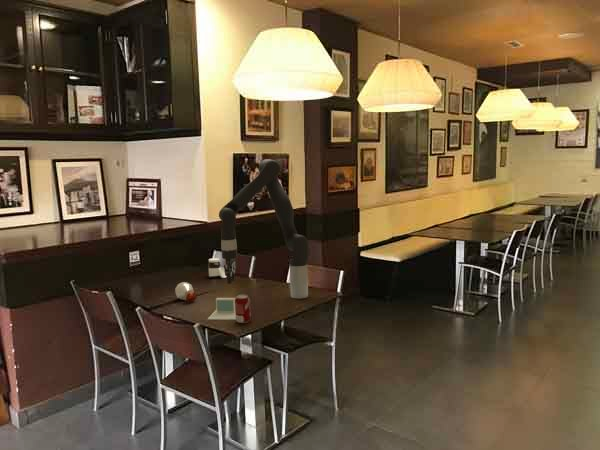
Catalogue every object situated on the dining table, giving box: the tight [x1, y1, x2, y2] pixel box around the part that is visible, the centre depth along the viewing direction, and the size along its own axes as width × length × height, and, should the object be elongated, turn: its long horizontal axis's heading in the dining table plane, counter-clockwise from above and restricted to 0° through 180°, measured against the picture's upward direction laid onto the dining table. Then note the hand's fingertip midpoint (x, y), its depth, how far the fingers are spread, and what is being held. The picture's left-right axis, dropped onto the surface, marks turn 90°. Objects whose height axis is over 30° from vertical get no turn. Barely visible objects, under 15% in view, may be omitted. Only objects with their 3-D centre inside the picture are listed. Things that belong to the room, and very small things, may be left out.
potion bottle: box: [174, 281, 197, 304], centre depth 261 cm, size 9×10×15 cm
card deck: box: [215, 297, 236, 312], centre depth 237 cm, size 2×9×6 cm, turn 82°
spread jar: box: [208, 257, 227, 279], centre depth 310 cm, size 12×11×12 cm
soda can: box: [235, 294, 252, 324], centre depth 222 cm, size 7×7×12 cm
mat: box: [207, 309, 236, 321], centre depth 234 cm, size 16×14×1 cm
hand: (231, 282), depth 243 cm, fingers open, 4 cm apart
